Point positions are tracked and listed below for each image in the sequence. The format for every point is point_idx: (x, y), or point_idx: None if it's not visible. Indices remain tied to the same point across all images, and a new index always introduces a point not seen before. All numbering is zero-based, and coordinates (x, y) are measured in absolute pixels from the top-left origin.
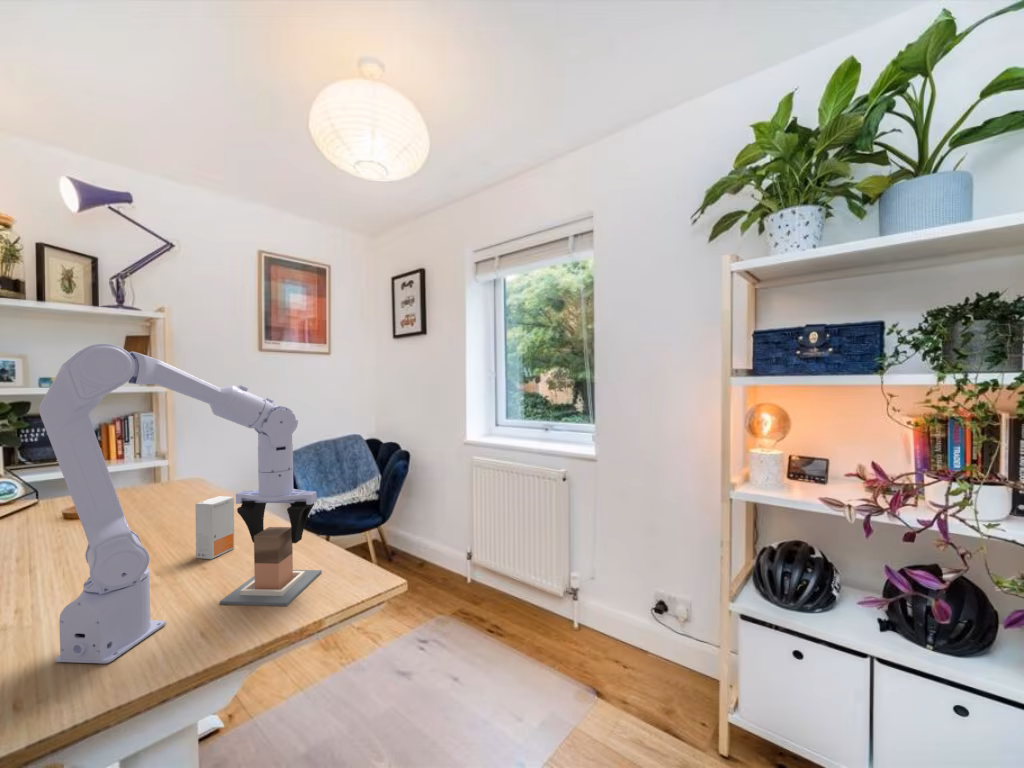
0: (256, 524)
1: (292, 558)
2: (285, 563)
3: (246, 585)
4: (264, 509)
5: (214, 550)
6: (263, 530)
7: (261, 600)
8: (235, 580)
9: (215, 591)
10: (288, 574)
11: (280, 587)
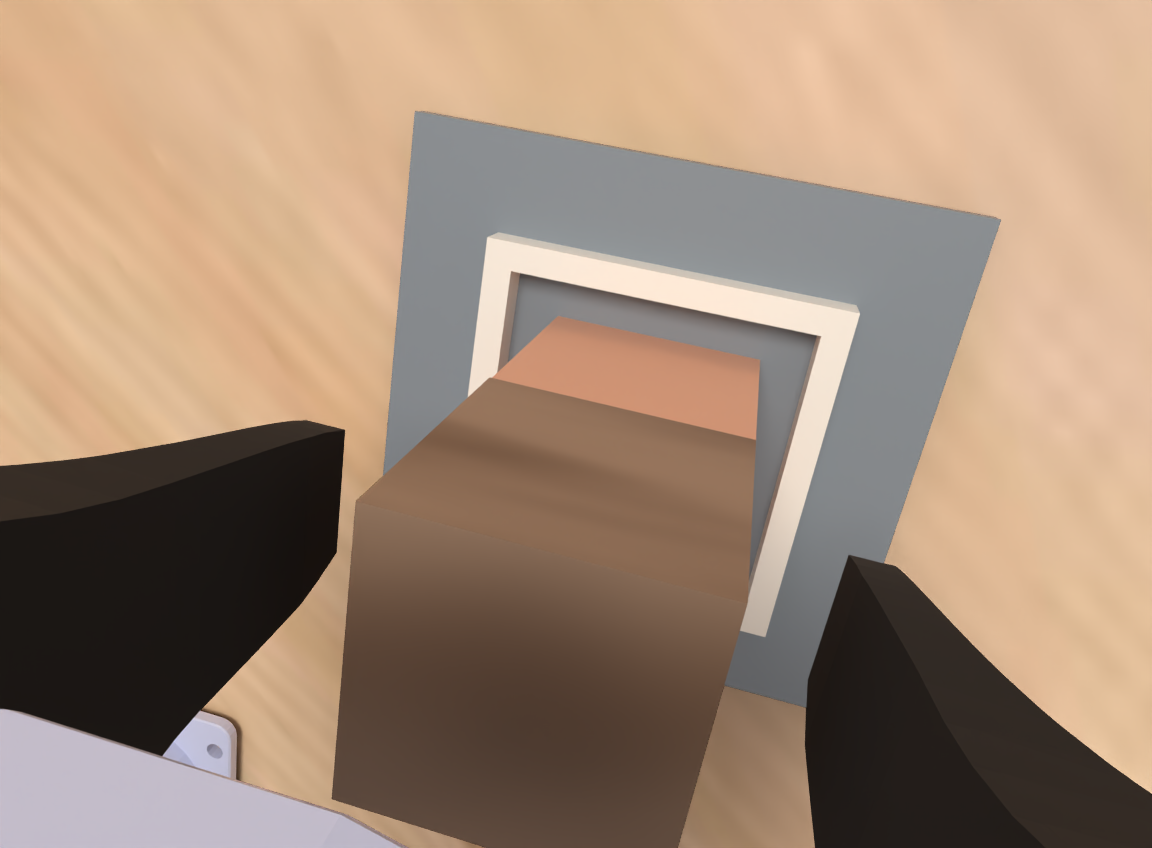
0: (188, 641)
1: (756, 422)
2: None
3: (429, 404)
4: (25, 532)
5: None
6: (349, 634)
7: None
8: (285, 250)
9: (251, 403)
10: None
11: None
